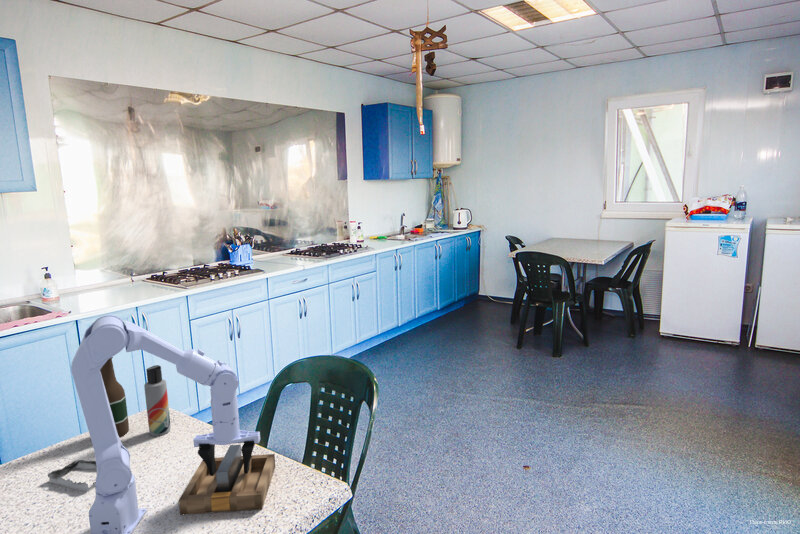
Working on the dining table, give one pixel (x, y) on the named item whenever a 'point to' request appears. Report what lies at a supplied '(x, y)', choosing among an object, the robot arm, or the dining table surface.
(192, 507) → the rack
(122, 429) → the beer bottle
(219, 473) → the panel
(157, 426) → the lotion bottle
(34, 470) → the dining table surface
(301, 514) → the dining table surface
